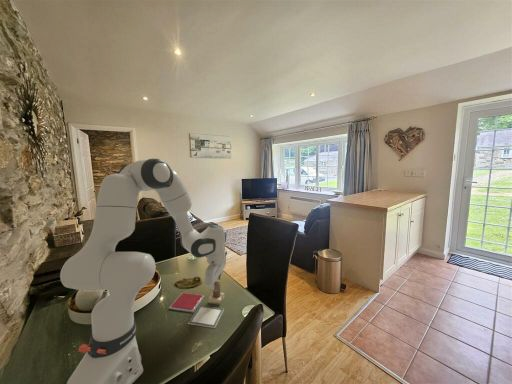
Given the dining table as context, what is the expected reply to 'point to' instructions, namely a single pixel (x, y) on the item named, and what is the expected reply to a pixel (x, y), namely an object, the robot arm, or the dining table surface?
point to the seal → (189, 282)
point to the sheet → (206, 316)
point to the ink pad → (187, 302)
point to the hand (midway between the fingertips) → (216, 283)
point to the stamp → (216, 295)
